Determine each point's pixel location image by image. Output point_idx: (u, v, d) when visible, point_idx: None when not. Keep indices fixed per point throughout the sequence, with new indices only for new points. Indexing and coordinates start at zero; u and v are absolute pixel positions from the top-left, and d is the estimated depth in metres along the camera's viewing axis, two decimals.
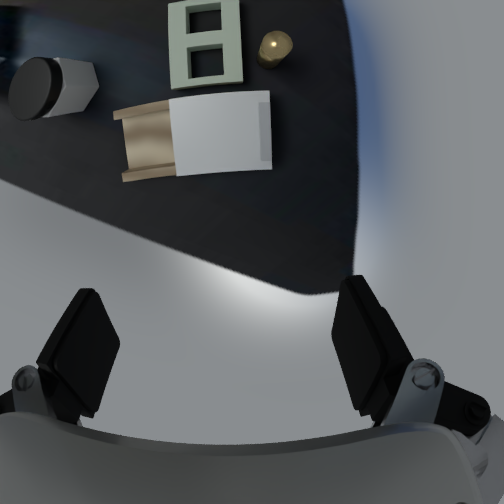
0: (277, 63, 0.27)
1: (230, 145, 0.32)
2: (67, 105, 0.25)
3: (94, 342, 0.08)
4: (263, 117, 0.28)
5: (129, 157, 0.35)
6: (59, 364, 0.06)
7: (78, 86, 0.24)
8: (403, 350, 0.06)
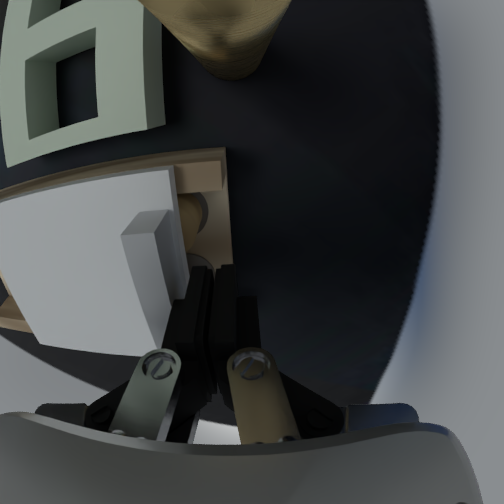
0: (249, 64, 0.08)
1: (102, 313, 0.12)
2: None
3: None
4: (143, 281, 0.09)
5: (4, 280, 0.16)
6: (202, 341, 0.07)
7: None
8: (231, 335, 0.07)
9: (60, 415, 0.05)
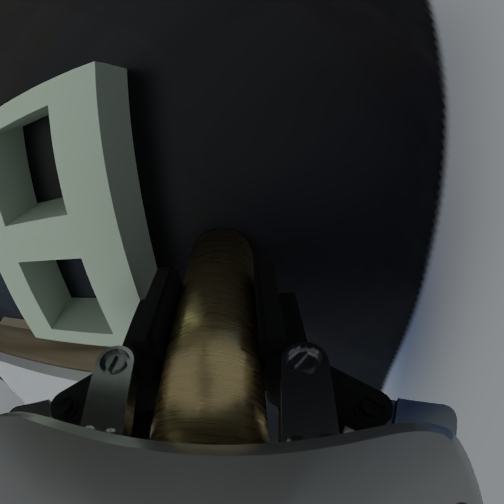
0: None
1: None
2: None
3: None
4: None
5: None
6: (156, 340, 0.07)
7: None
8: (283, 331, 0.07)
9: None
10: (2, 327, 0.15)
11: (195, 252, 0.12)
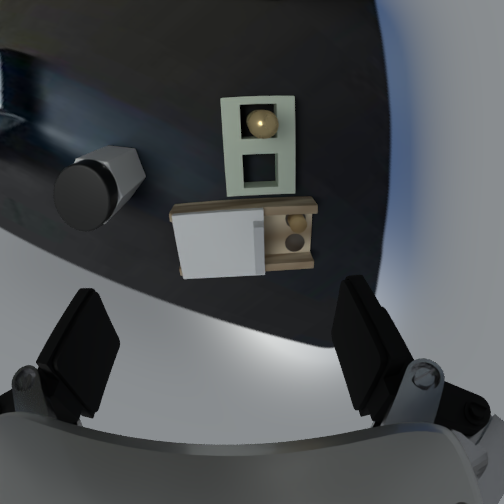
0: None
1: (229, 257, 0.38)
2: (119, 206, 0.32)
3: (94, 342, 0.08)
4: (257, 240, 0.35)
5: None
6: (59, 364, 0.06)
7: (131, 189, 0.31)
8: (403, 350, 0.06)
9: None
10: (178, 206, 0.38)
11: None
